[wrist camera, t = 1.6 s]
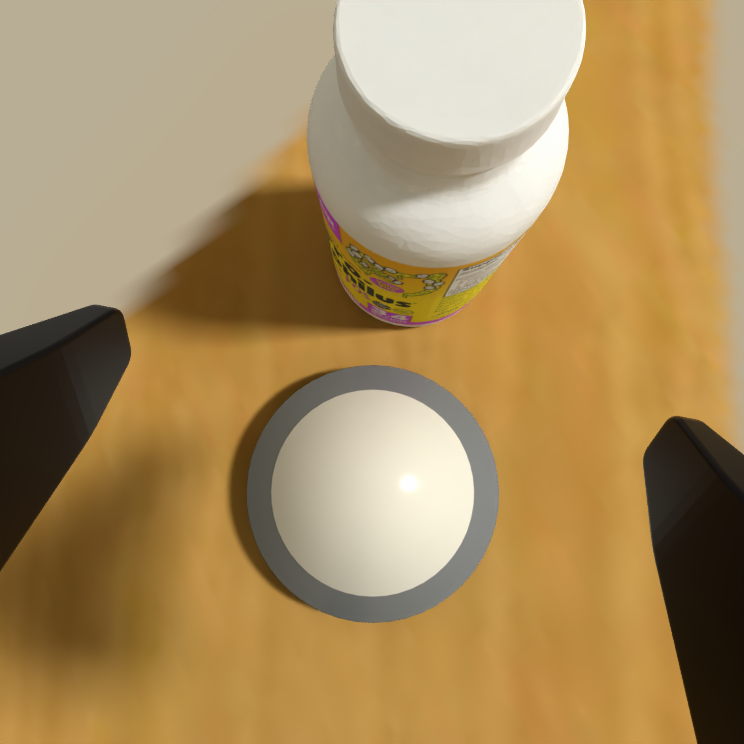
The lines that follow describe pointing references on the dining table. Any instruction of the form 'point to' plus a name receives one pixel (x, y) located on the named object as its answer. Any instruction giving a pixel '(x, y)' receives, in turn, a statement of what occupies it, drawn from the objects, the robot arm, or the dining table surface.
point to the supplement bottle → (438, 143)
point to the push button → (372, 494)
